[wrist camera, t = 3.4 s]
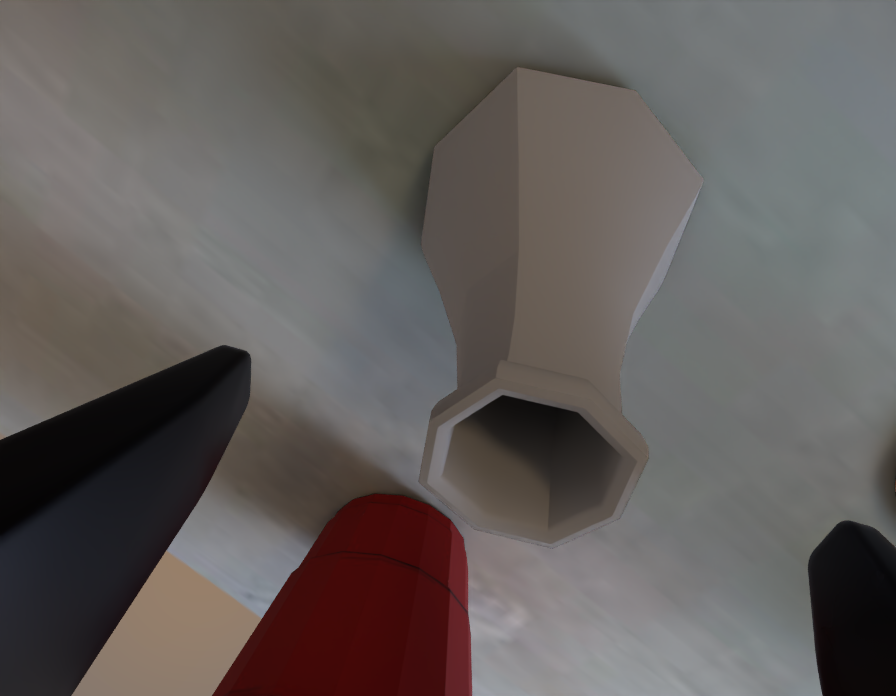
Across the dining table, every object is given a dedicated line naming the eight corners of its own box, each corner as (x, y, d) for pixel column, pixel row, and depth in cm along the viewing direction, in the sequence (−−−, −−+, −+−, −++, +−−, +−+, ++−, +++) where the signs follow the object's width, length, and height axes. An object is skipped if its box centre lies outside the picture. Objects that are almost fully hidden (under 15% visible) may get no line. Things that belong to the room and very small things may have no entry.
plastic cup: (392, 643, 31) (303, 981, 21) (228, 506, 27) (26, 840, 17) (585, 583, 26) (587, 991, 16) (416, 404, 22) (282, 795, 12)
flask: (757, 163, 16) (948, 429, 7) (589, 362, 20) (593, 673, 12) (504, 7, 15) (408, 116, 7) (383, 249, 19) (230, 502, 11)
